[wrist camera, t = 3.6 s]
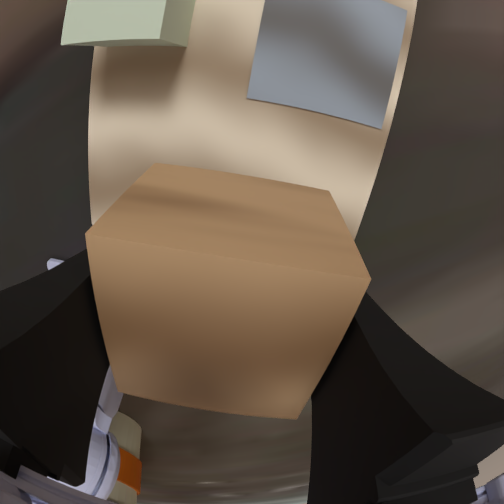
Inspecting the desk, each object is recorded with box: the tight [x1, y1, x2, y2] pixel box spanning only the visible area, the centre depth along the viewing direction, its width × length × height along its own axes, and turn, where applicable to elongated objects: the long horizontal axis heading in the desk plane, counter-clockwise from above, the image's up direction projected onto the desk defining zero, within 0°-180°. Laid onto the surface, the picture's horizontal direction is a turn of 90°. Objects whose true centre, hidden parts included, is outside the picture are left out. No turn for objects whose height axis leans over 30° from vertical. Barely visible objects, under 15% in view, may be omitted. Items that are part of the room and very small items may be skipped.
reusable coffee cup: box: [106, 411, 142, 504], centre depth 29 cm, size 13×13×15 cm
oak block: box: [85, 163, 371, 419], centre depth 9 cm, size 5×5×4 cm
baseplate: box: [88, 0, 417, 240], centre depth 14 cm, size 18×16×1 cm
